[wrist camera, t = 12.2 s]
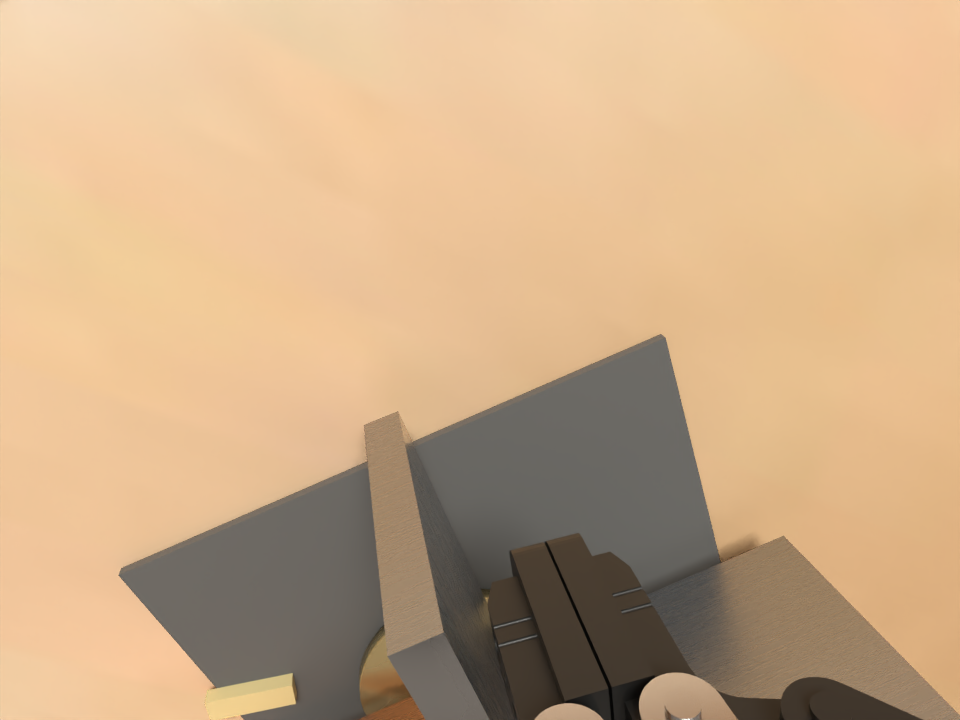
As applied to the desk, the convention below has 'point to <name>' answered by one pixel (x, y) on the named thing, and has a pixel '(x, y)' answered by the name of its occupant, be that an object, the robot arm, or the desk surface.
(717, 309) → the desk surface
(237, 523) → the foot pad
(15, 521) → the desk surface
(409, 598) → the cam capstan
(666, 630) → the robot arm
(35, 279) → the desk surface
